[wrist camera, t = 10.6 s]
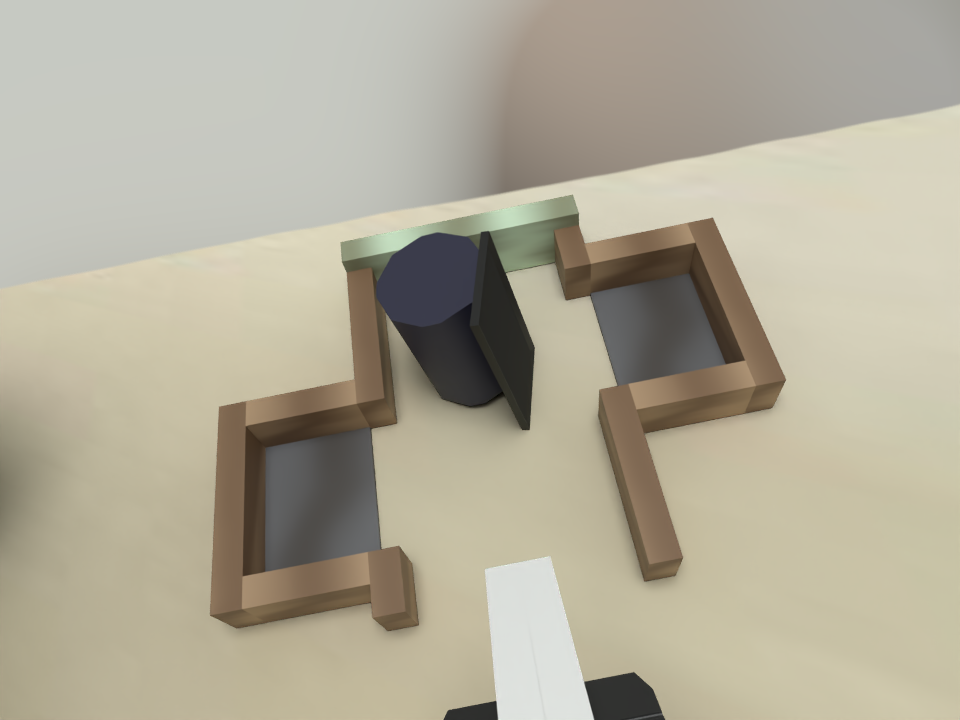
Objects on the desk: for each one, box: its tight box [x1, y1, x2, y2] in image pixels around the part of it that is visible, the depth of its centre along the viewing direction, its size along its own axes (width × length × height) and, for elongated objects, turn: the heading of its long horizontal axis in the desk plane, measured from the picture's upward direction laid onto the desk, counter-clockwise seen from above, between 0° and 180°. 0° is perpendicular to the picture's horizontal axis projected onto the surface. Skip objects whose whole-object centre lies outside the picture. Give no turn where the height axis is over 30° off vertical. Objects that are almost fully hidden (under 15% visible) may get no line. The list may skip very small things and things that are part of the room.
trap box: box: [210, 195, 786, 631], centre depth 38 cm, size 29×22×4 cm
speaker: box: [376, 231, 535, 430], centre depth 37 cm, size 8×6×10 cm
